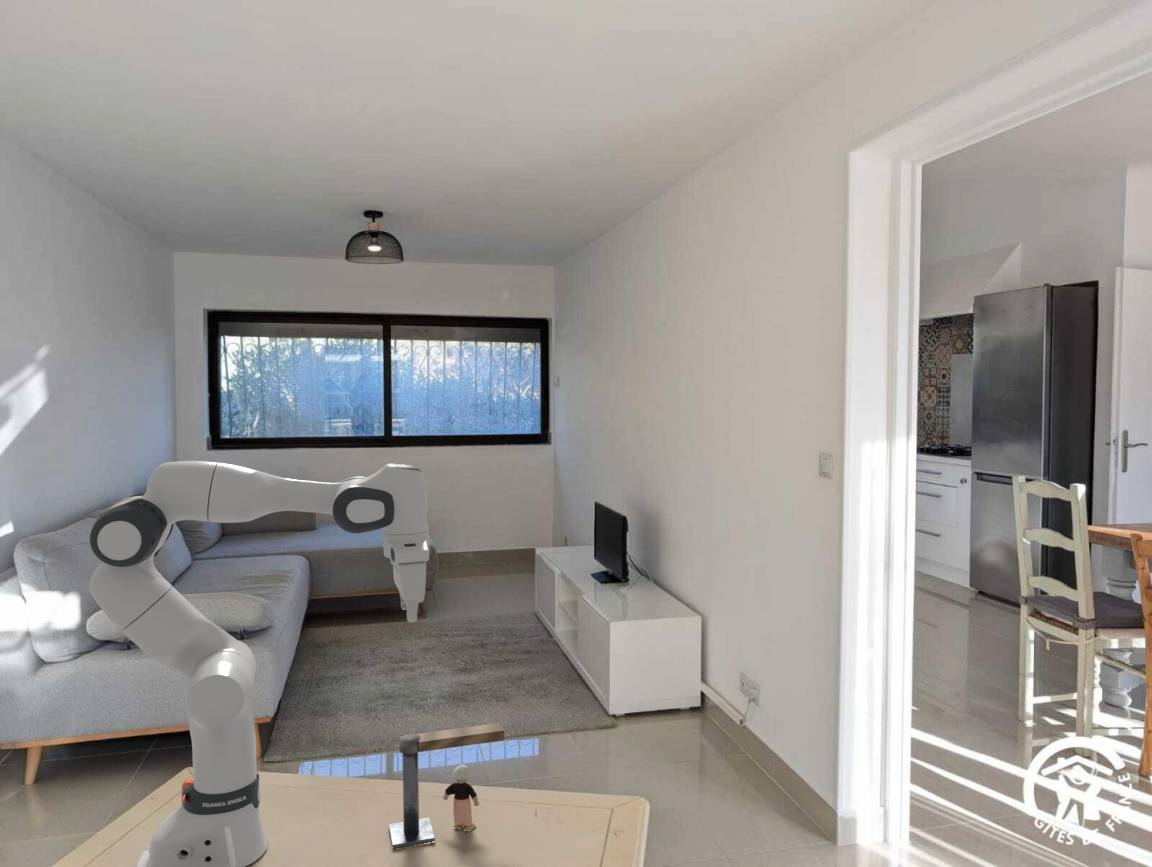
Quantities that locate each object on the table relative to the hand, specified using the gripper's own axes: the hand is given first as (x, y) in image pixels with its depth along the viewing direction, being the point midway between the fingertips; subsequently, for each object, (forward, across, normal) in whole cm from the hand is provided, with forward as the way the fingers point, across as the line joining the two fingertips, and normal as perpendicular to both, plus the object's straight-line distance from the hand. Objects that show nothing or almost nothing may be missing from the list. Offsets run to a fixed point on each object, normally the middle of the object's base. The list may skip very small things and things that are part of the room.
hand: (408, 615), depth 162 cm
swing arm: (+26, +2, +7) cm, 28 cm away
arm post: (+44, +2, -1) cm, 44 cm away
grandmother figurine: (+44, +2, +9) cm, 45 cm away
